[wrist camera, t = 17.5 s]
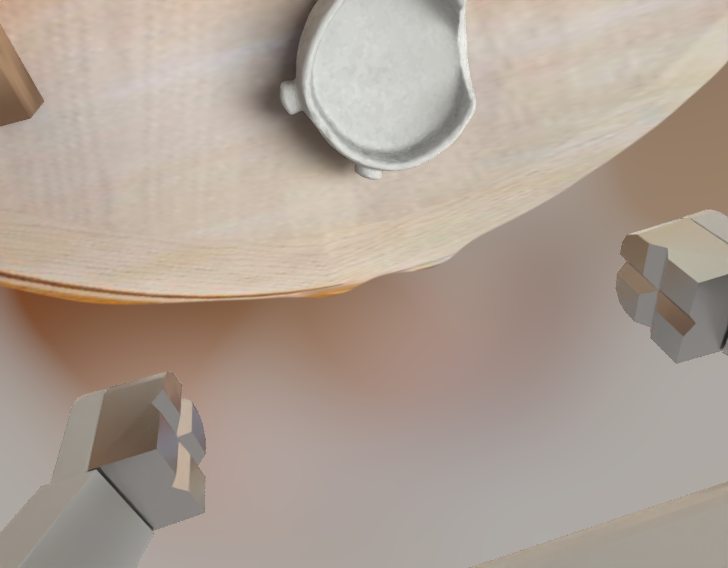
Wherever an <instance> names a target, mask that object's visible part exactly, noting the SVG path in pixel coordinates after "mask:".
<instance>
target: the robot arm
mask: <svg viewBox="0 0 728 568" xmlns="http://www.w3.org/2000/svg"><path fill="white" fill-rule="evenodd" d="M620 255H621V256H622V257H623V258H624V259H625V260H626V263H625V264H624V265H623V267H622V268H621V269H620V271H619V272H618V273H617V281H616V291H617V295H618V298H619V302H620V304H621V305H622V307H623V309H624V310H625V312H626V313H627V314H628V315H629V316H630V317H631V318H632V319H633V321H635V322H637V323H640V324H643V325H646V326H649V327H650V329H651V330H650V332H651V339H652V340H653V341H654V342H655V343H656V344H657V345H658V346H659V347H660V348H661V349H662V350H663V351H664V352H665V353H666V354H667V355H668V356H669V357H670V358H671V359H672V360H673V361H674V362H675V363H680V362H684V361H688V360H691V359H694V358H698V357H702V356H705V355H708V354H712V353H715V352H719V351H722V350H723V353H724V354H726V355H728V217H726V216H725V215H723V214H721V213H720V212H718V211H714V210H709V209H707V210H704V211H701V212H698V213H694V214H691V215H688V216H685V217H682V218H680V219H678V220H674V221H670V222H667V223H664V224H660V225H657V226H654V227H651V228H648V229H644V230H641V231H638V232H635V233H631V234H628V235H627V236H626V237H625V239H624V240H623V242H622V246H621V252H620ZM181 395H182V384H181V383H180V382H179V380H178V379H177V377H176V376H175V374H174V373H173V372H168V371H167V372H164V373H160V374H156V375H153V376H149V377H145V378H142V379H138V380H134V381H131V382H127V383H124V384H120V385H116V386H112V387H110V388H108V389H104V390H100V391H96V392H93V393H89V394H86V395H82V396H79V397H78V398H77V399H76V400H75V401H74V403H73V405H72V409H71V412H70V416H69V419H68V422H67V426H66V430H65V433H64V437H63V441H62V444H61V447H60V451H59V455H58V458H57V462H56V466H55V469H54V472H53V476H52V479H51V483H50V484H47V485H44V486H41V487H40V488H39V489H38V490H37V491H36V493H35V494H34V495H33V496H32V497H31V498H30V499H29V500H28V502H27V503H26V504H25V505H24V506H23V507H22V508H21V510H20V511H19V512H18V513H17V514H16V515H15V516H14V518H13V519H12V520H11V521H10V522H9V524H8V525H7V526H6V527H5V528H4V529H3V530H2V531H1V533H0V568H136V567H137V565H138V563H139V562H140V560H141V558H142V556H143V554H144V552H145V550H146V548H147V547H148V545H149V543H150V541H151V539H152V537H153V535H154V532H153V531H154V530H157V529H160V528H162V527H165V526H168V525H171V524H174V523H177V522H180V521H183V520H186V519H189V518H191V517H194V516H197V515H200V514H203V513H205V476H204V474H203V473H202V471H201V470H200V468H199V467H198V465H199V463H200V462H201V460H202V459H203V457H204V456H205V454H206V439H205V434H204V428H203V423H202V421H201V418H200V415H199V413H198V411H197V409H196V407H195V406H194V404H193V402H191V401H188V400H186V399H184V398H181ZM470 568H728V482H725V483H722V484H719V485H716V486H713V487H710V488H707V489H704V490H701V491H698V492H695V493H692V494H689V495H686V496H683V497H680V498H677V499H674V500H671V501H668V502H665V503H662V504H659V505H656V506H653V507H650V508H647V509H644V510H641V511H638V512H635V513H632V514H629V515H626V516H623V517H620V518H617V519H614V520H611V521H608V522H605V523H602V524H599V525H596V526H593V527H590V528H587V529H584V530H581V531H578V532H575V533H572V534H569V535H566V536H563V537H560V538H557V539H554V540H551V541H548V542H545V543H542V544H539V545H536V546H533V547H530V548H527V549H524V550H521V551H518V552H515V553H512V554H509V555H506V556H503V557H500V558H497V559H494V560H491V561H488V562H485V563H482V564H479V565H476V566H473V567H470Z"/></svg>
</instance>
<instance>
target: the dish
mask: <svg viewBox="0 0 728 568" xmlns="http://www.w3.org/2000/svg"><path fill="white" fill-rule="evenodd" d="M465 5H466V0H317V2H316V4H315V5H314V7H313V8H312V10H311V12H310V14H309V16H308V18H307V21H306V23H305V25H304V28H303V31H302V34H301V37H300V41H299V45H298V50H297V58H296V78H295V79H294V80H292V81H283V82H282V83H281V85H280V102H281V104H282V105H283V106H284V108H285V109H286V111H287V112H288V113H289V114H290V115H294V114H295V113H297V112H300V111H303V112H305V113H306V115H307V116H308V117H309V119H310V120H311V121H312V122H313V124H314V125H315V126H316V128H317V129H318V131H319V132H320V133H321V135H322V136H323V137H324V139H325V140H326V141H327V142H328V143H329V144H330V145H331V146H332V147H333V148H334V149H335V150H336V151H337V152H339V153H340V154H341V155H343V156H344V157H346V158H347V159H349V160H351V161H352V162H354V163H355V172H356V173H358V174H359V175H360V176H362V177H364V178H368V179H372V180H377V179H380V178H381V175H382V171H384V170H385V171H400V170H405V169H409V168H413V167H416V166H418V165H420V164H423V163H425V162H427V161H429V160H430V159H432V158H433V157H435V156H436V155H438V154H439V153H441V152H442V151H443V150H445V149H446V148H447V147H448V146H449V145H451V144H452V143H453V142H454V141H455V140H456V139H457V137H458V136H459V135H460V134H461V132H462V131H463V129H464V127H465V126H466V124H467V123H468V122H469V120H470V119H471V117H472V115H473V113H474V111H475V108H476V96H475V93H474V90H473V87H472V83H471V76H470V71H469V65H468V57H467V39H466V25H465Z"/></svg>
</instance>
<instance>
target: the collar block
mask: <svg viewBox="0 0 728 568" xmlns="http://www.w3.org/2000/svg"><path fill="white" fill-rule="evenodd" d="M43 102H44V100H43V98H42V97H41V95H40V93H39V91H38V90H37V88H36V86H35V84H34V82H33V81H32V79H31V77H30V75H29V74H28V72H27V70H26V68H25V67H24V65H23V63H22V61H21V60H20V58H19V56H18V54H17V53H16V51H15V49H14V47H13V46H12V44H11V42H10V40H9V39H8V37H7V35H6V33H5V32H4V30H3V28H2V26H1V25H0V126H3V125H7V124H11V123H14V122H18V121H22V120H26V119H30V118H31V117H32V116H33V115H34V113H35V112H36V111H37V110H38V108H39V107H40V106H41V105H42V103H43Z"/></svg>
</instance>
